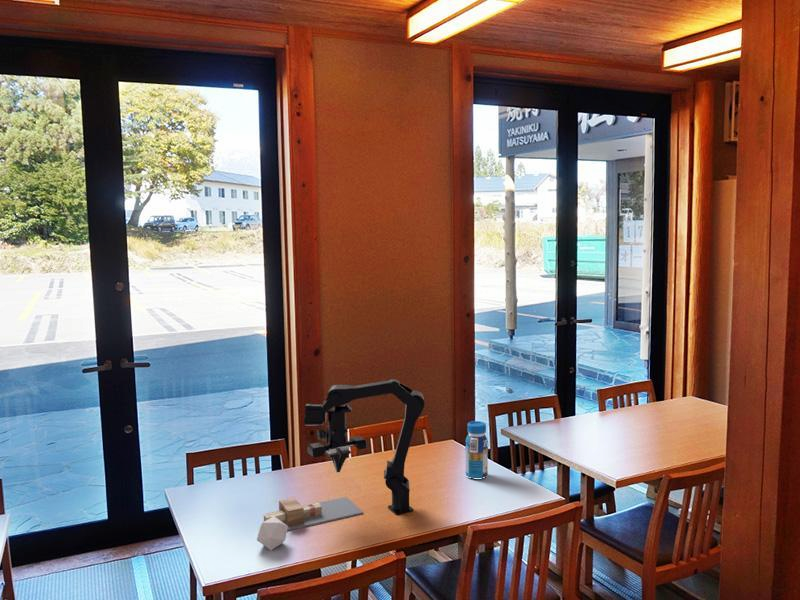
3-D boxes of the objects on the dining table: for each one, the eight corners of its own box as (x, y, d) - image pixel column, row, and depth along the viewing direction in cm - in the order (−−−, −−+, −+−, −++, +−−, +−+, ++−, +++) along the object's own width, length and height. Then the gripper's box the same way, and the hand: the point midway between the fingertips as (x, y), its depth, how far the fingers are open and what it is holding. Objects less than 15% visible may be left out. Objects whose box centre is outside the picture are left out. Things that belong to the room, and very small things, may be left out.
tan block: (304, 523, 204) (303, 507, 203) (288, 526, 201) (288, 511, 201) (294, 512, 212) (294, 497, 211) (279, 515, 210) (278, 500, 209)
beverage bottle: (460, 474, 244) (460, 422, 242) (479, 470, 248) (479, 419, 246) (473, 482, 237) (473, 428, 235) (492, 478, 241) (493, 424, 239)
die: (291, 551, 189) (294, 516, 194) (270, 546, 183) (273, 511, 188) (271, 554, 193) (274, 520, 198) (249, 550, 187) (253, 515, 192)
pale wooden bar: (321, 514, 210) (321, 506, 209) (266, 526, 201) (266, 518, 201) (318, 511, 212) (318, 502, 212) (263, 523, 204) (263, 514, 204)
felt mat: (363, 513, 212) (363, 512, 211) (278, 532, 199) (278, 531, 199) (346, 498, 224) (346, 496, 224) (265, 515, 211) (265, 513, 211)
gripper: (353, 414, 222) (354, 459, 224) (301, 422, 214) (302, 469, 215) (367, 423, 213) (368, 469, 214) (312, 431, 204) (314, 480, 206)
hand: (338, 471), depth 213 cm, fingers closed
